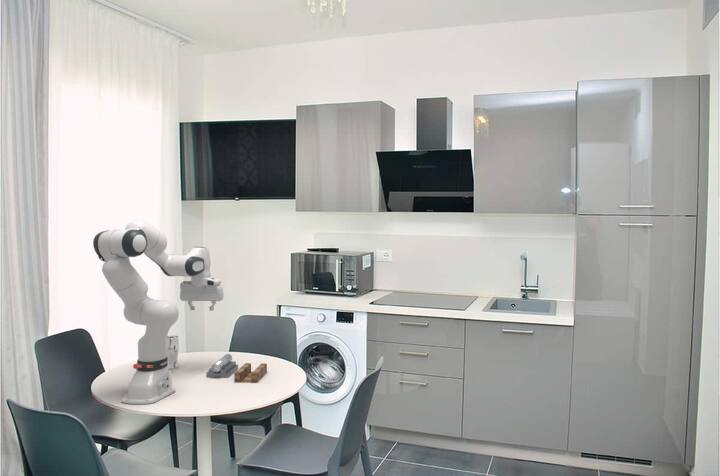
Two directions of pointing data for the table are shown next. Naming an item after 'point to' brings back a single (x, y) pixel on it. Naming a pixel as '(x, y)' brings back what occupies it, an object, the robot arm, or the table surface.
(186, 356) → the table surface
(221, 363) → the axle
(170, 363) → the beer glass
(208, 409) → the table surface
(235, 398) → the table surface
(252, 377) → the wooden channel cradle
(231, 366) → the v block
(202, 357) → the table surface
